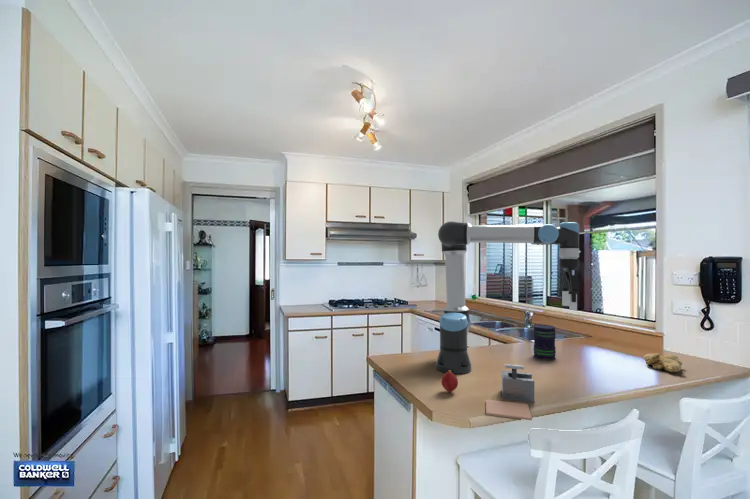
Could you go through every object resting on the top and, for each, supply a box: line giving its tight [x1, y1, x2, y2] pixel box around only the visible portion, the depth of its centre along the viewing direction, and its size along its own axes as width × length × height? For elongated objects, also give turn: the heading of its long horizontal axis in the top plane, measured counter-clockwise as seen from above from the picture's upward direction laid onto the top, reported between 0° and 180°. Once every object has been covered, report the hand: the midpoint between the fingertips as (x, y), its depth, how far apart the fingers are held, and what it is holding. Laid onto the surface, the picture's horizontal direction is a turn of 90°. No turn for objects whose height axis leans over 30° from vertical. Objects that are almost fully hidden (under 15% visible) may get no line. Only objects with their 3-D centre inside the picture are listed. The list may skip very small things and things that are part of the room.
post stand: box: [504, 363, 525, 378], centre depth 128 cm, size 6×3×10 cm, turn 73°
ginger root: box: [643, 352, 683, 373], centre depth 161 cm, size 16×16×8 cm
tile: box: [485, 399, 533, 421], centre depth 115 cm, size 13×11×1 cm
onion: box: [440, 370, 459, 394], centre depth 131 cm, size 6×6×8 cm
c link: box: [501, 370, 535, 403], centre depth 128 cm, size 10×9×7 cm
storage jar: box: [533, 324, 557, 361], centre depth 178 cm, size 10×10×15 cm
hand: (569, 307), depth 157 cm, fingers open, 13 cm apart
